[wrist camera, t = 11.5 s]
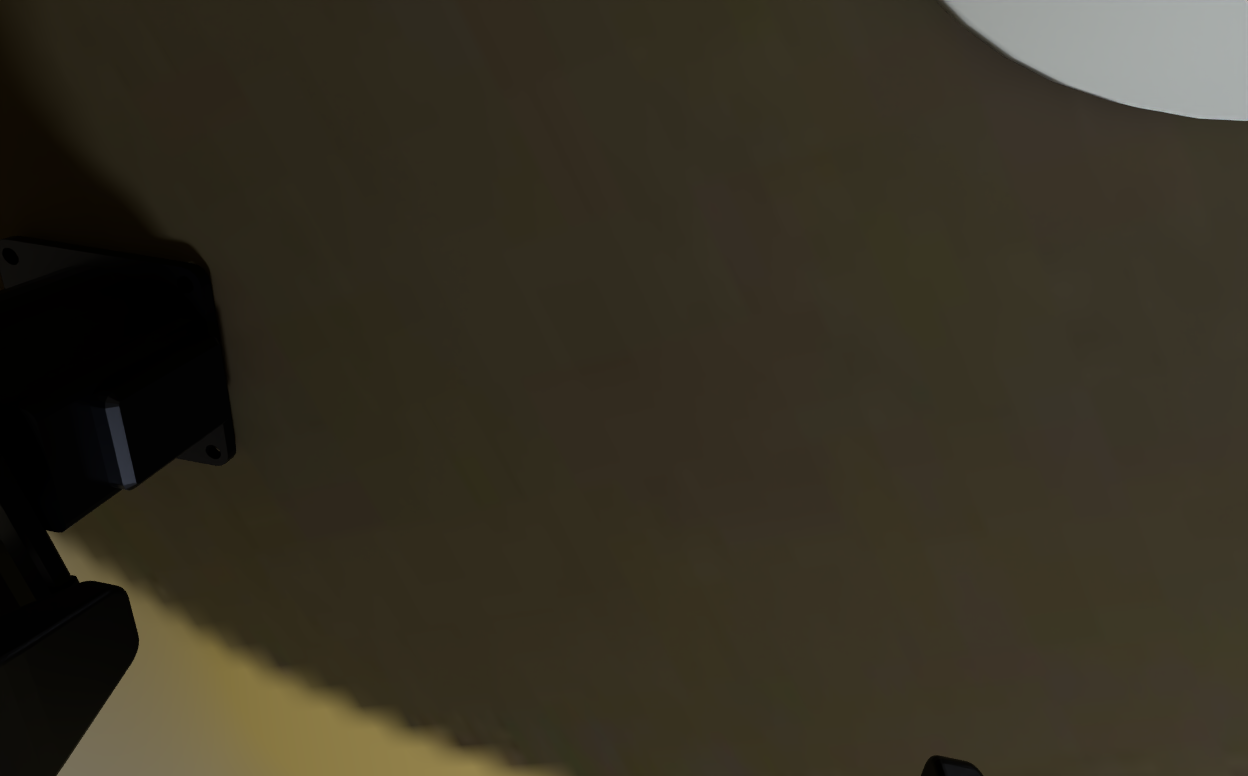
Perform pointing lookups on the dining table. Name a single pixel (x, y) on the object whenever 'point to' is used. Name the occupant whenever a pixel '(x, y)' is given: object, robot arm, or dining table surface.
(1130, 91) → the plate
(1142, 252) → the dining table surface
